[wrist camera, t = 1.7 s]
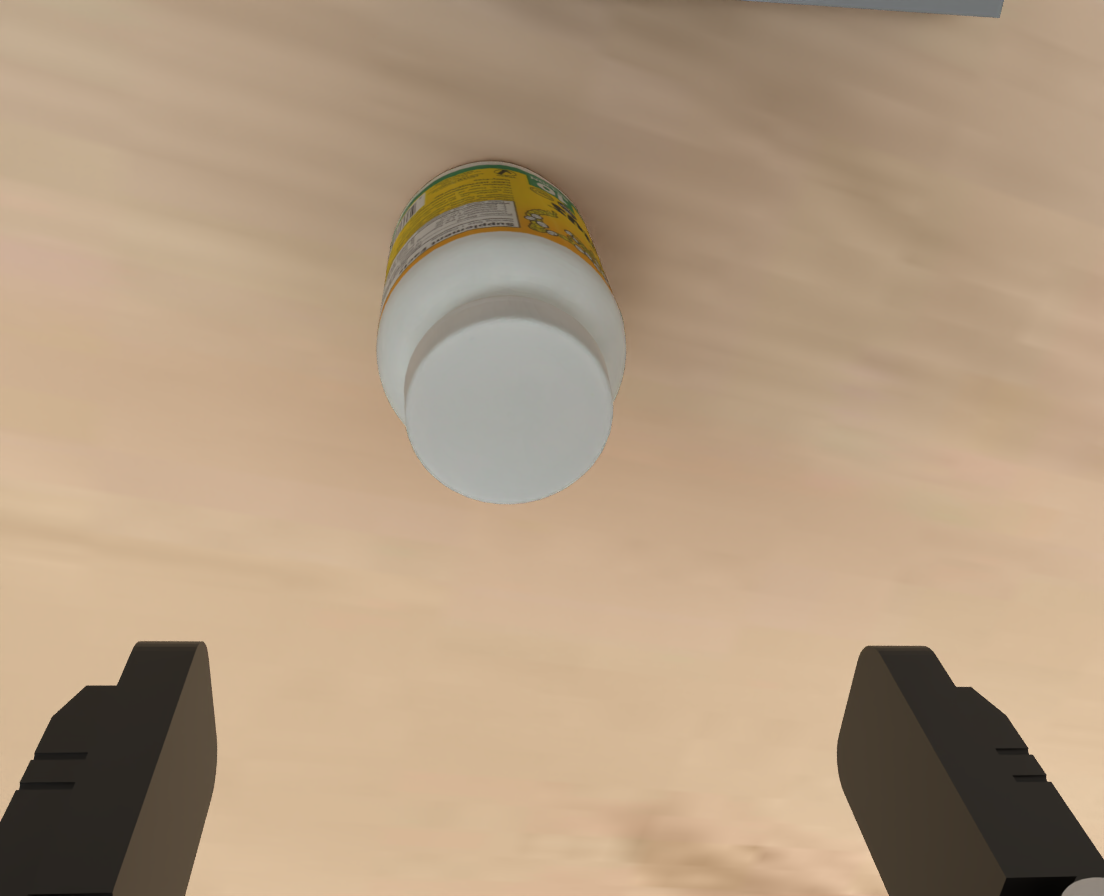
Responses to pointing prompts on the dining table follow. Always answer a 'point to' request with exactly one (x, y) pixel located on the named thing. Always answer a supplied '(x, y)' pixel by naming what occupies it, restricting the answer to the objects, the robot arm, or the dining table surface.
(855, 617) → the dining table surface
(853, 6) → the tray
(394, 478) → the dining table surface
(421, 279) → the supplement bottle
